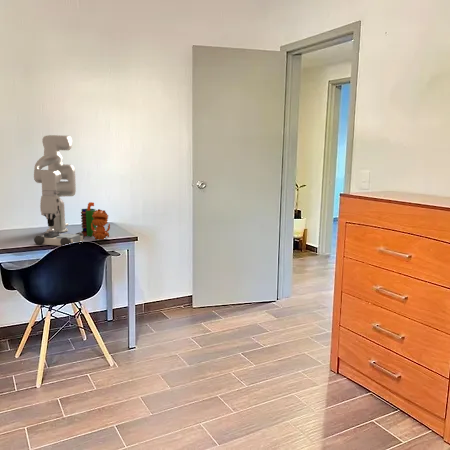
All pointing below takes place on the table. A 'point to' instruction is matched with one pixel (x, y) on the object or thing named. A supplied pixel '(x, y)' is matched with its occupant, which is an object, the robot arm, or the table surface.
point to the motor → (87, 220)
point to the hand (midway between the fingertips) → (51, 226)
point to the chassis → (59, 239)
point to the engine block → (51, 233)
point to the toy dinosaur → (100, 224)
